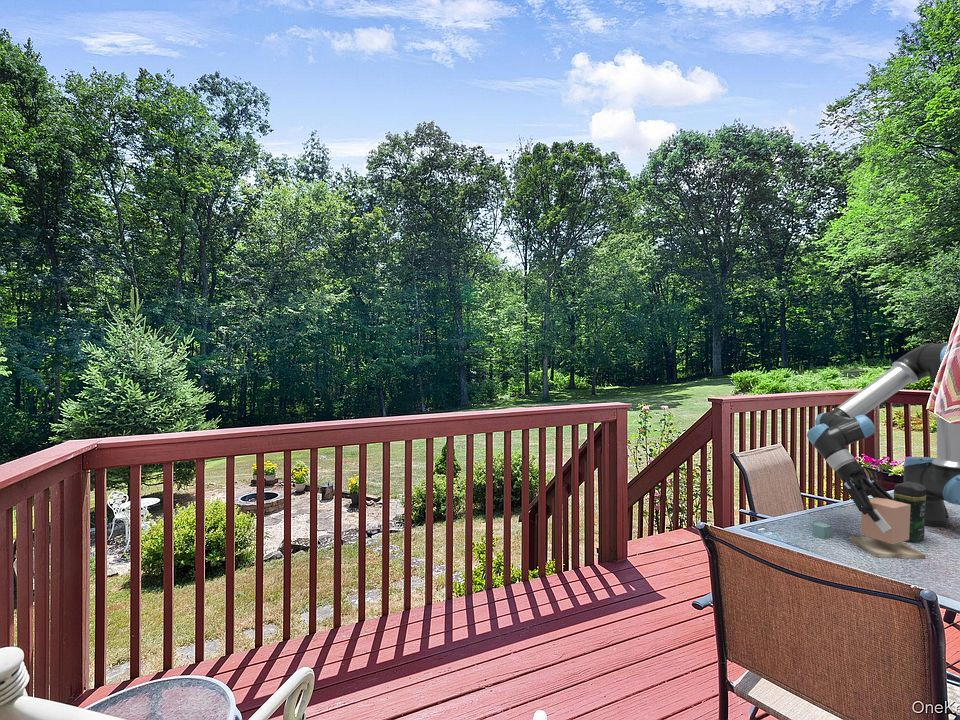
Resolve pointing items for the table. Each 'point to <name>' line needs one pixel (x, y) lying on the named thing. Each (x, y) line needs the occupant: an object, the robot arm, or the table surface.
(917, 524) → the coffee jar
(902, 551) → the pad
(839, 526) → the table surface
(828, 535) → the block
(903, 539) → the cover
